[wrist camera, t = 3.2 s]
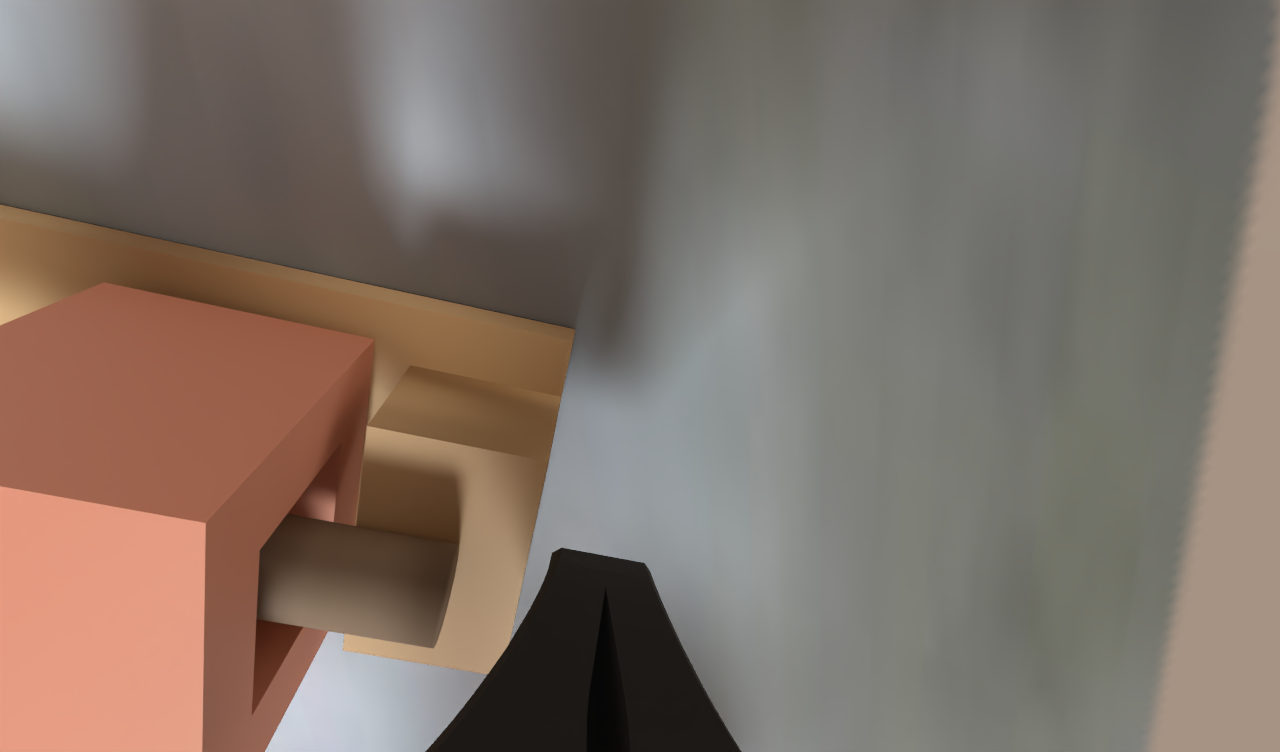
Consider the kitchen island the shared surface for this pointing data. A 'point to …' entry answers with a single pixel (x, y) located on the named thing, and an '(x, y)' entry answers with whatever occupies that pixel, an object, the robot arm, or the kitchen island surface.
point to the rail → (367, 438)
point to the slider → (161, 515)
